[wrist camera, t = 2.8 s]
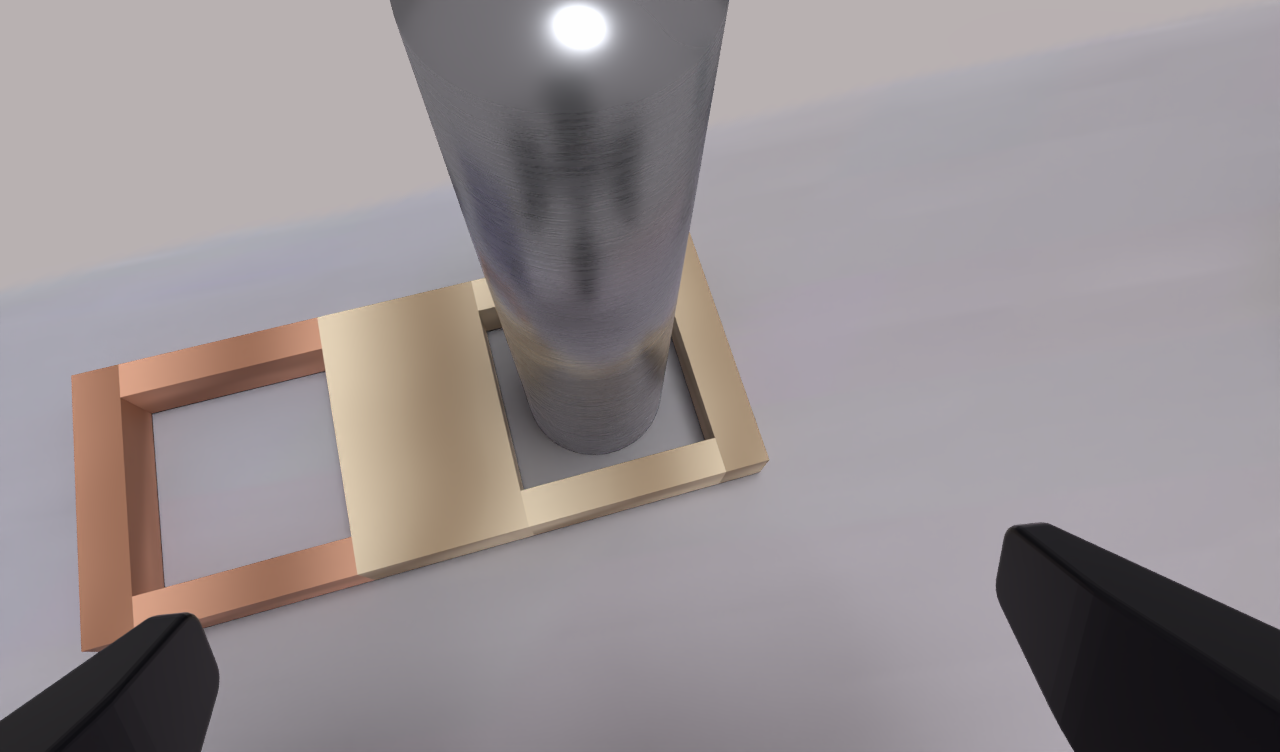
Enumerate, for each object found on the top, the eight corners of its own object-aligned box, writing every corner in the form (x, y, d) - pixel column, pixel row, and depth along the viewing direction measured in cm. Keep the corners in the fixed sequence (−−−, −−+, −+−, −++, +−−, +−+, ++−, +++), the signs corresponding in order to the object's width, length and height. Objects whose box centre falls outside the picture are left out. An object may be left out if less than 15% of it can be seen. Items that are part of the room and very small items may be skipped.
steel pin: (627, 476, 22) (648, 164, 8) (505, 421, 23) (321, 36, 9) (681, 359, 23) (778, -84, 9) (564, 310, 24) (489, -184, 10)
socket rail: (119, 651, 20) (81, 651, 19) (105, 393, 23) (71, 375, 21) (759, 472, 22) (769, 459, 21) (684, 253, 25) (688, 229, 23)
